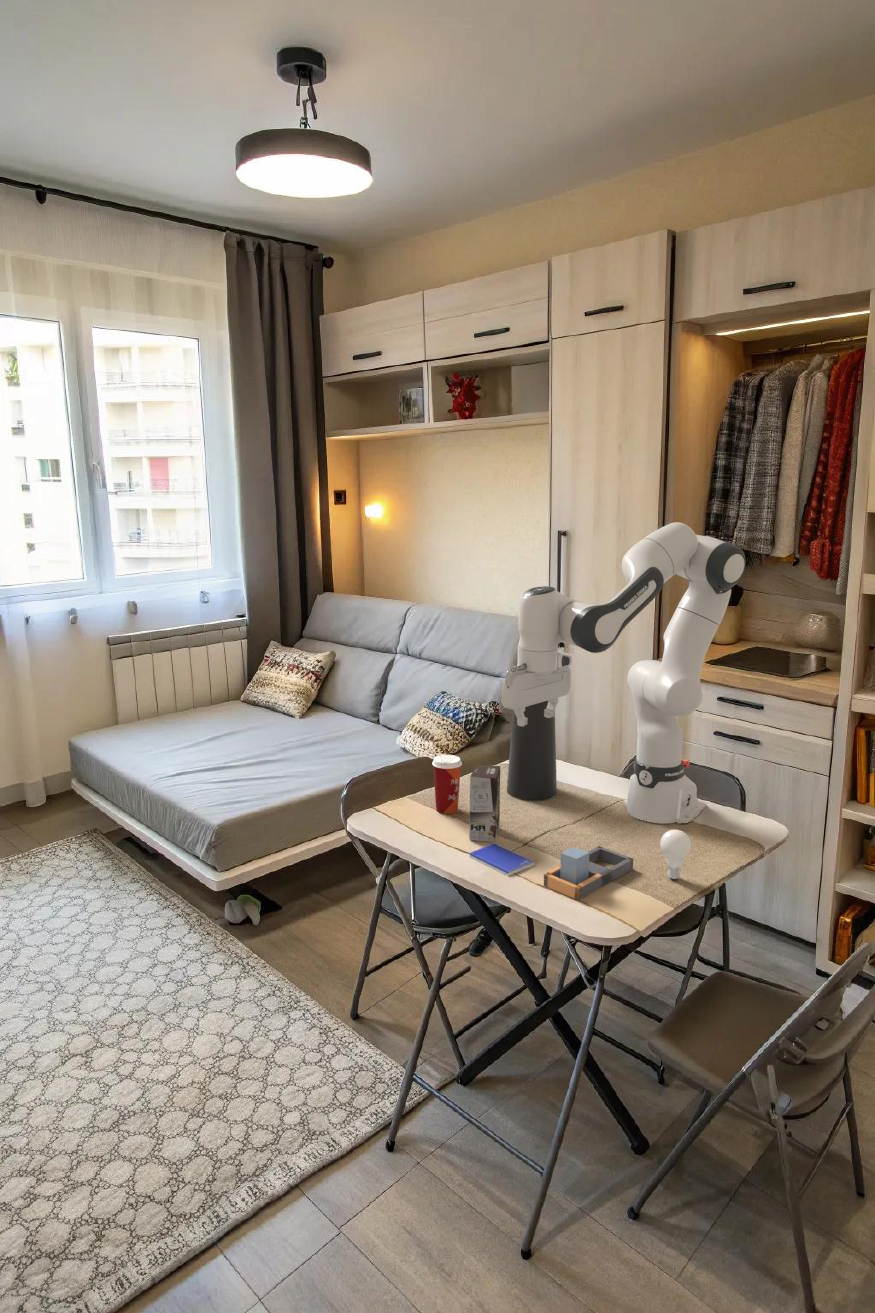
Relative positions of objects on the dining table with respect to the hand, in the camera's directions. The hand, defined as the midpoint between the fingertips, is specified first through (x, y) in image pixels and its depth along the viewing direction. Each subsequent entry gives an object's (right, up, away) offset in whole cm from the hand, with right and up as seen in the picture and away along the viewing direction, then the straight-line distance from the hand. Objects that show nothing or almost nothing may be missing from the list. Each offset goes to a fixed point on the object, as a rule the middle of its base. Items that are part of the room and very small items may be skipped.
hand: (535, 721), depth 186 cm
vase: (+4, -23, +43) cm, 49 cm away
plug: (+7, -34, -10) cm, 36 cm away
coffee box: (-11, -29, +16) cm, 34 cm away
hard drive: (-8, -32, +1) cm, 33 cm away
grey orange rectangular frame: (+11, -33, -6) cm, 35 cm away
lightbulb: (+29, -34, -7) cm, 45 cm away
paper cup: (-20, -26, +30) cm, 44 cm away
